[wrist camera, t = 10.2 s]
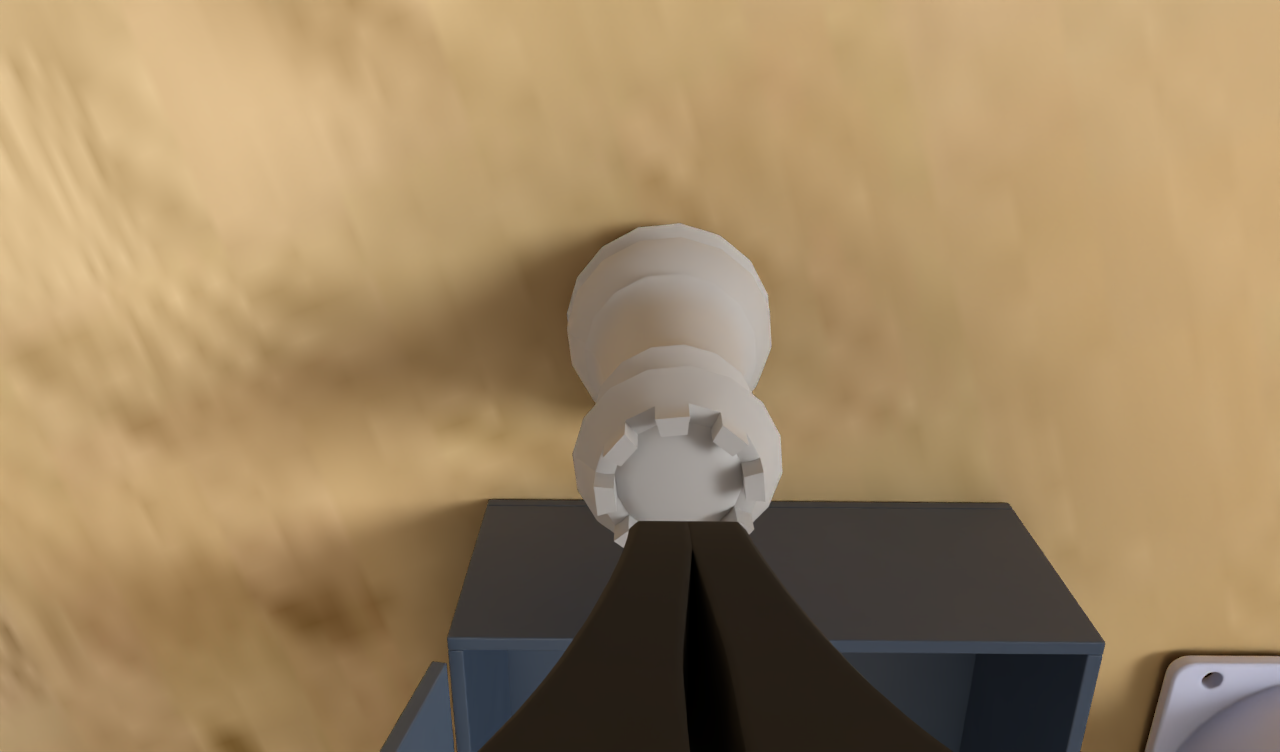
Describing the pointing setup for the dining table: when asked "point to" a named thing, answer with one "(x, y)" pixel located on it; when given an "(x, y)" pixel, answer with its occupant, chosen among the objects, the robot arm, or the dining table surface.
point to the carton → (813, 613)
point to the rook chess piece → (672, 381)
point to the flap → (425, 717)
